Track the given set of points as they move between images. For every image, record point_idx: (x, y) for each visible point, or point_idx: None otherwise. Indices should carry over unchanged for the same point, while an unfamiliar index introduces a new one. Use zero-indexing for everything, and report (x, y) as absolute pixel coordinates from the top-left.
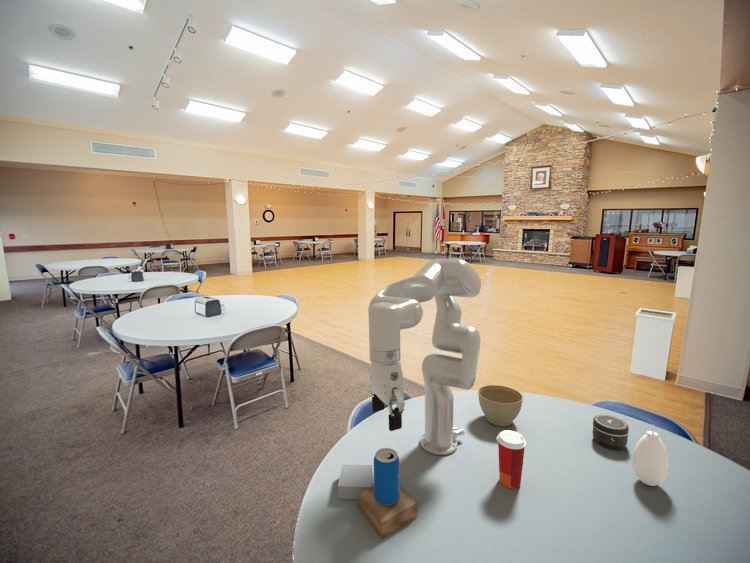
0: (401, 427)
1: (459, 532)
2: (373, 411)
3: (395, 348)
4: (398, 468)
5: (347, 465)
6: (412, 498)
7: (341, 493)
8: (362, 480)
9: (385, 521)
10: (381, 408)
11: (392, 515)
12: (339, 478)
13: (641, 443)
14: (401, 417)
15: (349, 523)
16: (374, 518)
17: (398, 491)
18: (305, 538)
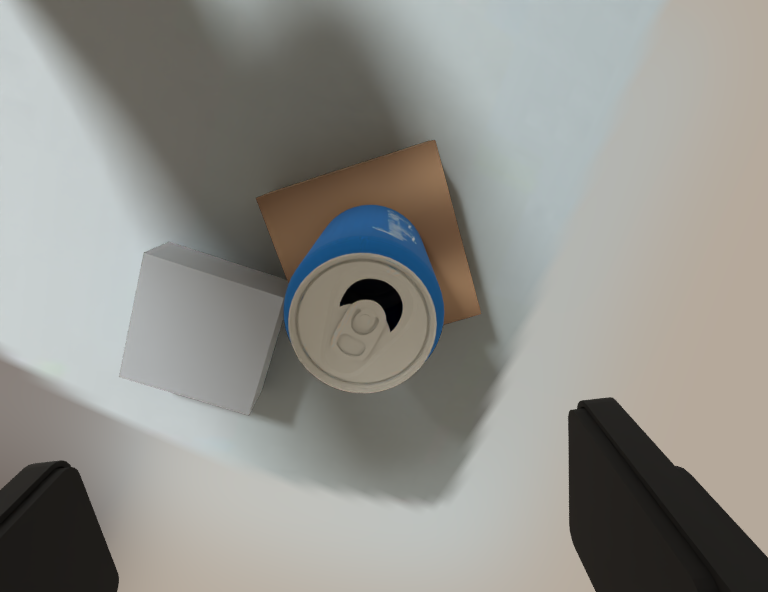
0: (612, 400)
1: (554, 4)
2: (112, 589)
3: None
4: (413, 246)
5: (128, 357)
6: (407, 150)
7: (260, 388)
8: (238, 319)
9: (475, 295)
10: (71, 511)
11: (463, 264)
12: (206, 402)
13: None
14: (704, 502)
15: None
16: None
17: (409, 225)
18: (392, 495)
